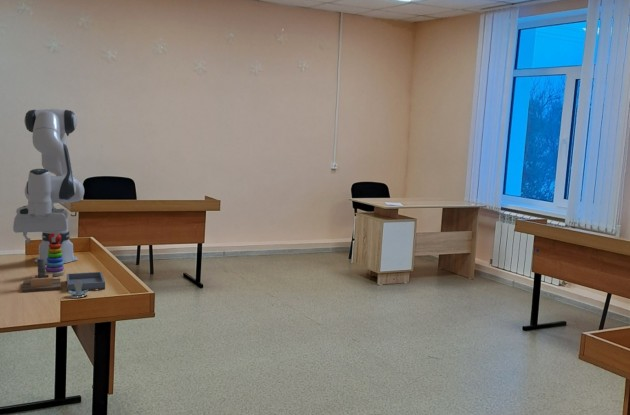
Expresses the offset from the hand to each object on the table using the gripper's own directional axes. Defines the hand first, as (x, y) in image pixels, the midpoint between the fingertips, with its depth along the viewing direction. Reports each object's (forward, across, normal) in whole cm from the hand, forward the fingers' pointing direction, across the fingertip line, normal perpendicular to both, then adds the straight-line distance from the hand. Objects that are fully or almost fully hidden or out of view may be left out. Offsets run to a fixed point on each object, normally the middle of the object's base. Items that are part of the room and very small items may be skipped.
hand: (41, 242), depth 255 cm
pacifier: (+18, -13, +24) cm, 33 cm away
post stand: (+17, 0, +6) cm, 18 cm away
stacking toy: (+17, -5, -13) cm, 22 cm away
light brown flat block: (+16, 0, +4) cm, 16 cm away
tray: (+17, -16, +8) cm, 25 cm away
